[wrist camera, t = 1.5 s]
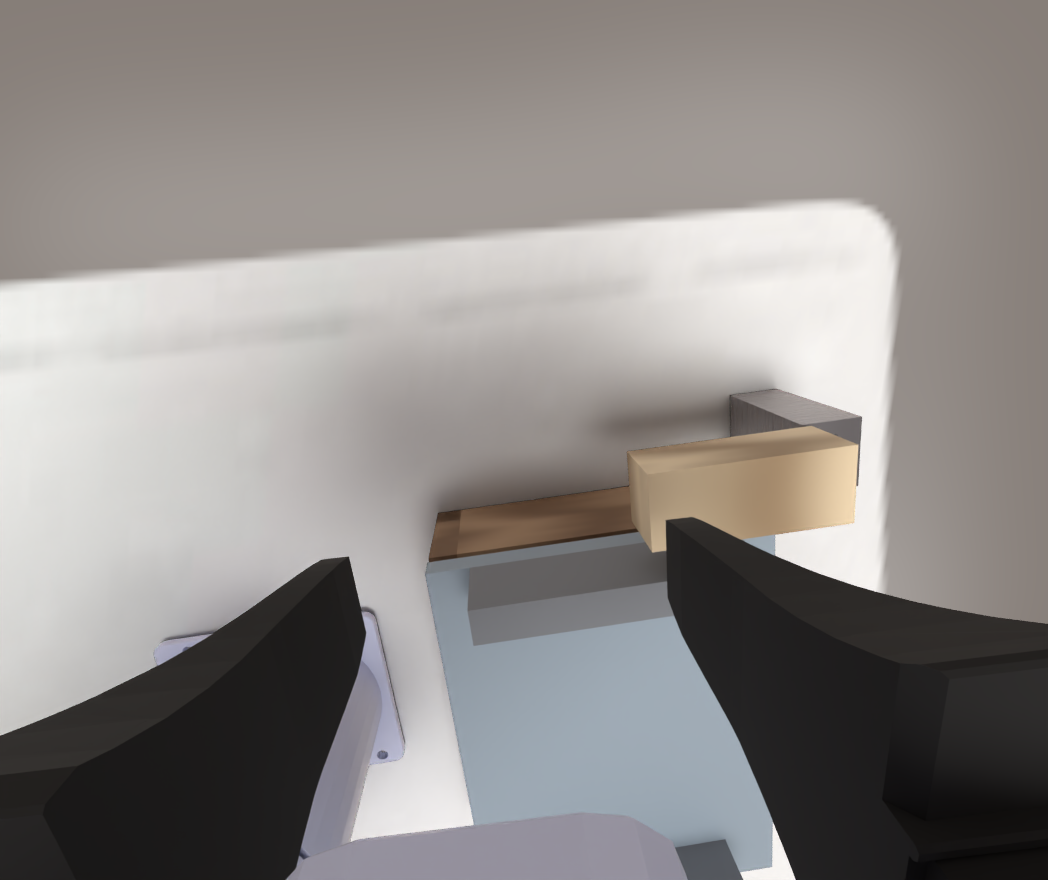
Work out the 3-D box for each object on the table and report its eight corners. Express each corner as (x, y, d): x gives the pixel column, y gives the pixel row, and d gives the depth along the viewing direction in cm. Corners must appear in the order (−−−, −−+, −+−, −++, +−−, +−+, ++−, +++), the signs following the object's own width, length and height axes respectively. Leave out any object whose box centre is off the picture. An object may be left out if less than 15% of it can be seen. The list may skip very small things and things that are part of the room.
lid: (491, 893, 23) (492, 1026, 19) (427, 562, 18) (411, 640, 14) (762, 847, 23) (822, 968, 19) (763, 513, 19) (841, 575, 15)
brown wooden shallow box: (490, 801, 27) (491, 886, 23) (438, 513, 23) (428, 558, 19) (720, 763, 27) (759, 841, 23) (713, 474, 23) (759, 510, 19)
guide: (730, 450, 23) (800, 493, 18) (730, 395, 22) (801, 425, 17) (776, 443, 23) (857, 485, 18) (776, 388, 22) (861, 416, 17)
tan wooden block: (631, 520, 17) (652, 552, 15) (626, 451, 17) (647, 474, 15) (809, 495, 18) (854, 522, 15) (811, 425, 17) (857, 444, 15)
